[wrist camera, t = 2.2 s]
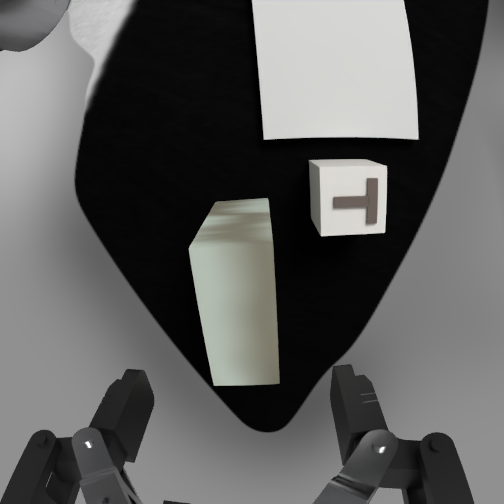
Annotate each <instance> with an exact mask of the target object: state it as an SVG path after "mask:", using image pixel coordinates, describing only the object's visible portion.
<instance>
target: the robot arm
mask: <svg viewBox="0 0 504 504" xmlns="http://www.w3.org/2000/svg"><path fill="white" fill-rule="evenodd" d="M69 1H70V0H0V51H2V50H9V51H18V52H20V51H24V50H27V49H29V48H32V47H34V46H35V45H37V44H38V43H40V42H41V41H42V40H43V39H44V38H45V37H46V36H48V35H49V34H50V32H51V31H52V30H53V29H54V28H55V27H56V25H57V24H58V22H59V21H60V19H61V18H62V16H63V14H64V12H65V11H66V9H67V6H68V4H69ZM330 400H331V407H332V412H333V417H334V422H335V427H336V432H337V437H338V443H339V448H340V454H341V459H342V464H343V466H344V467H343V469H342V470H341V472H340V473H339V474H338V475H337V476H336V477H334V478H333V479H332V480H331V481H330V482H329V483H328V484H327V486H326V487H325V488H324V490H323V491H322V493H321V494H320V495H319V496H318V497H317V499H316V500H315V501H314V503H313V504H369V502H370V501H371V499H372V497H373V496H374V494H375V493H376V491H377V489H378V487H382V488H398V489H401V490H402V494H403V500H404V504H474V501H473V498H472V494H471V491H470V488H469V485H468V482H467V479H466V476H465V473H464V470H463V467H462V464H461V461H460V459H459V456H458V453H457V450H456V448H455V445H454V442H453V440H452V439H451V438H450V437H449V436H447V435H446V434H443V433H438V432H435V433H431V434H428V435H427V436H425V437H424V438H423V439H422V441H414V440H403V439H399V438H397V437H396V436H395V435H394V434H393V433H391V432H390V431H389V430H388V428H387V425H386V422H385V419H384V416H383V413H382V410H381V407H380V405H379V402H378V399H377V396H376V394H375V391H374V388H373V385H372V383H371V381H370V380H369V379H367V377H366V376H365V375H359V376H355V374H354V371H353V368H352V366H351V365H340V366H333V370H332V380H331V390H330ZM101 402H102V403H100V405H99V407H98V409H97V411H96V413H95V415H94V417H93V419H92V421H91V423H90V425H89V427H88V428H83V429H80V430H79V431H77V432H76V433H75V434H74V436H73V437H68V438H67V437H66V438H56V436H55V435H54V434H53V433H52V432H51V431H49V430H40V431H38V432H36V433H34V434H33V435H32V437H31V438H30V440H29V442H28V444H27V446H26V448H25V450H24V452H23V454H22V456H21V458H20V460H19V462H18V464H17V466H16V468H15V471H14V473H13V475H12V477H11V479H10V481H9V484H8V486H7V488H6V490H5V493H4V495H3V497H2V499H1V502H0V504H75V500H76V498H77V495H78V492H79V488H80V487H81V489H82V492H83V495H84V498H85V501H86V504H143V503H142V502H141V500H140V499H139V497H138V495H137V493H136V491H135V489H134V487H133V485H132V483H131V481H130V479H129V477H128V475H127V473H126V471H125V469H124V467H123V466H124V464H125V461H127V462H133V463H134V462H135V459H136V456H137V453H138V450H139V447H140V444H141V441H142V439H143V435H144V433H145V430H146V427H147V424H148V421H149V418H150V415H151V412H152V409H153V406H154V394H153V391H152V389H151V386H150V384H149V381H148V378H147V376H146V373H145V371H143V370H135V369H127V370H126V371H125V373H124V375H123V377H122V379H121V380H119V379H117V380H116V381H115V382H114V383H112V385H110V386H109V388H108V390H107V392H106V394H105V397H103V399H102V401H101ZM51 472H52V474H51ZM50 475H51V477H50ZM49 477H50V479H49ZM48 479H49V482H48ZM47 482H48V484H47ZM46 484H47V487H46ZM163 504H189V503H179V502H172V501H165V500H164V502H163Z"/></svg>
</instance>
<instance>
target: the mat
mask: <svg viewBox="0 0 504 504" xmlns="http://www.w3.org/2000/svg"><path fill="white" fill-rule="evenodd" d="M252 6H253V16H254V27H255V38H256V49H257V60H258V72H259V84H260V96H261V109H262V121H263V135H264V140H267V139H286V138H313V137H375V138H402V139H418V116H417V98H416V85H415V74H414V65H413V56H412V48H411V41H410V34H409V28H408V22H407V16H406V11H405V6H404V1H403V0H252Z"/></svg>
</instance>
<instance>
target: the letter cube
mask: <svg viewBox="0 0 504 504" xmlns="http://www.w3.org/2000/svg"><path fill="white" fill-rule="evenodd" d="M309 172H310V199H311V219H312V221H313V222H314V224H315V226H316V228H317V230H318V232H319V234H320V235H321V236H334V235H353V234H371V233H385V222H386V196H387V166H384V165H381V164H378V163H376V162H373V161H370V160H366V159H340V160H309Z"/></svg>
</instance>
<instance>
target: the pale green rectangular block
mask: <svg viewBox="0 0 504 504" xmlns="http://www.w3.org/2000/svg"><path fill="white" fill-rule="evenodd" d="M189 254H190V260H191V267H192V273H193V279H194V285H195V291H196V296H197V302H198V308H199V313H200V319H201V324H202V329H203V335H204V340H205V345H206V350H207V355H208V360H209V365H210V369H211V374H212V379H213V383H214V386H228V385H263V384H279V359H278V334H277V312H276V291H275V271H274V253H273V239H272V230H271V221H270V212H269V203H268V198H264V199H249V200H235V201H223V202H215V204H214V206H213V207H212V209H211V211H210V213H209V214H208V216H207V218H206V219H205V221H204V223H203V225H202V226H201V228H200V230H199V231H198V233H197V235H196V237H195V238H194V240H193V242H192V244H191V245H190V247H189Z"/></svg>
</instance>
